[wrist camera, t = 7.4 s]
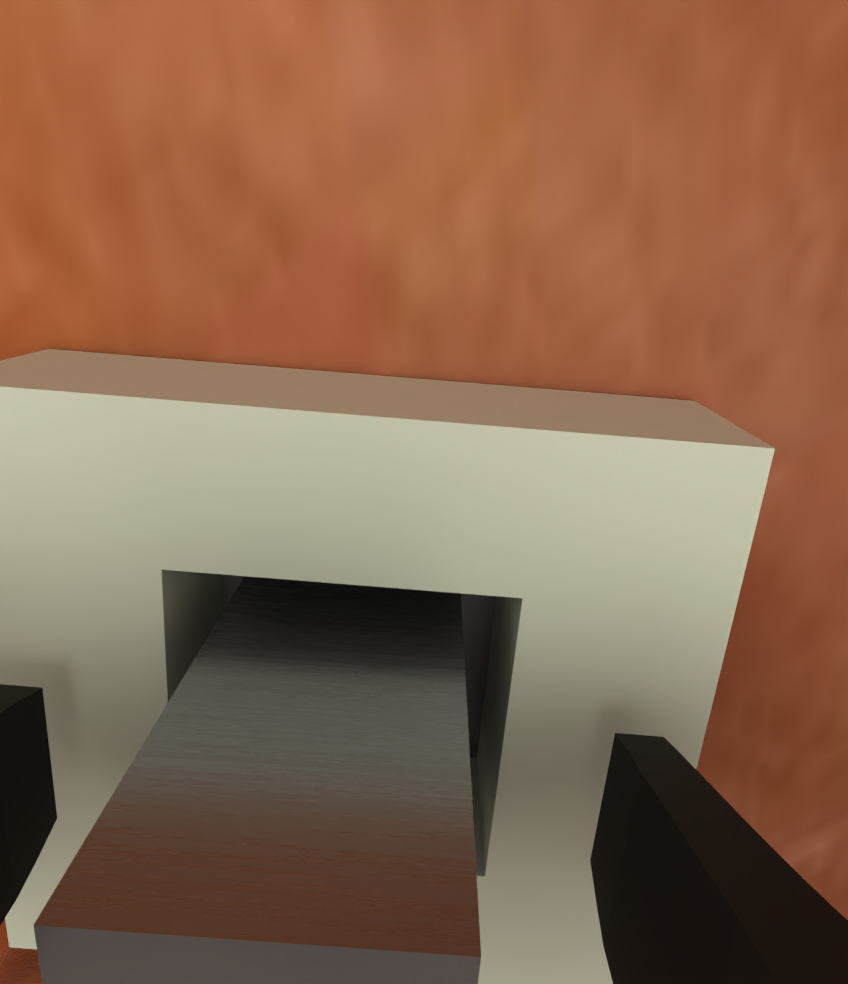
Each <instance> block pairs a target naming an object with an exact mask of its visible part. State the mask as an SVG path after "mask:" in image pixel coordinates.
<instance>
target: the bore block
mask: <svg viewBox="0 0 848 984" xmlns="http://www.w3.org/2000/svg"><path fill="white" fill-rule="evenodd" d="M774 451H775V448H773V447H772V446H770V445H768V444H767V443H765V442H763V441H761V440H760V439H758V438H756V437H755V436H753V435H751V434H750V433H748V432H746V431H745V430H743V429H741V428H740V427H738V426H736V425H735V424H733V423H731V422H729V421H728V420H726V419H724V418H723V417H721V416H719V415H718V414H716V413H714V412H713V411H711V410H709V409H708V408H706V407H704V406H702V405H701V404H699V403H697V402H696V401H692V400H680V399H667V398H655V397H642V396H630V395H617V394H605V393H592V392H580V391H568V390H555V389H543V388H530V387H518V386H505V385H493V384H480V383H468V382H456V381H443V380H431V379H418V378H406V377H393V376H381V375H368V374H356V373H343V372H331V371H319V370H306V369H294V368H281V367H269V366H256V365H244V364H231V363H219V362H207V361H194V360H182V359H169V358H157V357H144V356H132V355H119V354H107V353H95V352H82V351H70V350H57V349H46V350H42V351H38V352H34V353H30V354H26V355H22V356H18V357H14V358H10V359H6V360H2V361H0V684H3V685H16V686H29V687H41V688H43V697H44V706H45V715H46V724H47V732H48V741H49V750H50V759H51V767H52V776H53V785H54V794H55V802H56V811H57V820H56V822H55V824H54V826H53V828H52V830H51V832H50V834H49V836H48V838H47V840H46V843H45V845H44V847H43V849H42V851H41V853H40V855H39V857H38V859H37V861H36V863H35V865H34V867H33V869H32V871H31V873H30V875H29V877H28V878H27V880H26V882H25V884H24V886H23V888H22V890H21V892H20V894H19V896H18V898H17V899H16V901H15V903H14V904H13V906H12V908H11V909H10V911H9V912H8V914H7V915H6V917H5V922H6V929H7V935H8V942H9V947H11V948H24V949H36V950H37V946H36V940H35V933H34V926H33V925H34V923H35V922H36V920H37V918H38V917H39V915H40V913H41V912H42V910H43V908H44V907H45V905H46V903H47V902H48V900H49V899H50V897H51V895H52V894H53V892H54V890H55V889H56V887H57V885H58V884H59V882H60V880H61V879H62V877H63V875H64V874H65V872H66V870H67V869H68V867H69V865H70V864H71V862H72V861H73V859H74V857H75V856H76V854H77V852H78V851H79V849H80V847H81V846H82V844H83V842H84V841H85V839H86V837H87V836H88V834H89V832H90V831H91V829H92V827H93V826H94V824H95V822H96V821H97V819H98V818H99V816H100V814H101V813H102V811H103V809H104V808H105V806H106V804H107V803H108V801H109V799H110V798H111V796H112V794H113V793H114V791H115V789H116V788H117V786H118V784H119V783H120V781H121V780H122V778H123V776H124V775H125V773H126V771H127V770H128V768H129V766H130V765H131V763H132V761H133V760H134V758H135V756H136V755H137V753H138V751H139V750H140V748H141V746H142V745H143V743H144V742H145V740H146V738H147V737H148V735H149V733H150V732H151V730H152V728H153V727H154V725H155V723H156V722H157V720H158V718H159V717H160V715H161V713H162V712H163V710H164V708H165V707H166V705H167V703H168V702H169V700H170V699H171V697H172V695H173V694H174V692H175V690H176V689H177V687H178V685H179V684H180V682H181V680H182V679H183V677H184V675H185V674H186V672H187V670H188V669H189V667H190V665H191V664H192V662H193V661H194V659H195V657H196V656H197V654H198V652H199V651H200V649H201V647H202V646H203V644H204V642H205V641H206V639H207V637H208V636H209V634H210V632H211V631H212V629H213V627H214V626H215V624H216V622H217V621H218V619H219V618H220V616H221V614H222V613H223V611H224V609H225V608H226V606H227V604H228V603H229V601H230V599H231V598H232V596H233V594H234V593H235V591H236V589H237V588H238V586H239V584H240V583H241V581H242V580H243V578H244V576H248V577H261V578H273V579H286V580H299V581H311V582H324V583H336V584H349V585H361V586H374V587H387V588H399V589H412V590H424V591H437V592H449V593H461V607H462V625H463V643H464V660H465V678H466V696H467V714H468V732H469V749H470V767H471V785H472V803H473V821H474V839H475V856H476V874H477V892H478V910H479V928H480V945H481V962H480V970H479V978H478V984H613V981H612V978H611V974H610V970H609V966H608V962H607V958H606V954H605V950H604V947H603V941H602V935H601V928H600V922H599V916H598V910H597V904H596V897H595V890H594V883H593V876H592V869H591V862H590V858H591V853H592V848H593V843H594V838H595V833H596V828H597V823H598V818H599V812H600V807H601V802H602V797H603V792H604V787H605V782H606V777H607V772H608V766H609V761H610V756H611V751H612V746H613V741H614V736H615V733H623V734H635V735H648V736H660V737H664V738H665V739H666V740H667V741H668V742H670V743H671V744H672V745H673V746H674V747H675V748H676V749H677V750H678V751H679V752H680V753H681V755H682V756H683V757H684V758H685V759H686V760H687V761H688V762H689V763H690V764H691V765H692V766H693V767H694V768H695V769H697V765H698V761H699V757H700V753H701V749H702V745H703V740H704V736H705V732H706V728H707V724H708V720H709V716H710V712H711V708H712V704H713V700H714V696H715V692H716V687H717V683H718V679H719V675H720V671H721V667H722V663H723V659H724V655H725V651H726V647H727V643H728V638H729V634H730V630H731V626H732V622H733V618H734V614H735V610H736V606H737V602H738V598H739V594H740V589H741V585H742V581H743V577H744V573H745V569H746V565H747V561H748V557H749V553H750V549H751V545H752V541H753V536H754V532H755V528H756V524H757V520H758V516H759V512H760V508H761V504H762V500H763V496H764V492H765V487H766V483H767V479H768V475H769V471H770V467H771V463H772V459H773V455H774Z"/></svg>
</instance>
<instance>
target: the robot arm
mask: <svg viewBox="0 0 848 984" xmlns="http://www.w3.org/2000/svg"><path fill="white" fill-rule="evenodd" d="M56 820H57V811H56V802H55V794H54V785H53V776H52V767H51V759H50V750H49V741H48V732H47V724H46V715H45V706H44V697H43V688H41V687H29V686H16V685H3V684H0V925H1V923H2V922H3V920H4V919H5V917H6V915H7V914H8V912H9V911H10V909H11V908H12V906H13V904H14V903H15V901H16V899H17V898H18V896H19V894H20V892H21V890H22V888H23V886H24V884H25V882H26V880H27V878H28V877H29V875H30V873H31V871H32V869H33V867H34V865H35V863H36V861H37V859H38V857H39V855H40V853H41V851H42V849H43V847H44V845H45V843H46V840H47V838H48V836H49V834H50V832H51V830H52V828H53V826H54V824H55V822H56ZM590 862H591V869H592V876H593V883H594V890H595V897H596V904H597V910H598V916H599V922H600V928H601V935H602V941H603V947H604V950H605V954H606V958H607V962H608V966H609V970H610V974H611V978H612V981H613V984H848V920H847V919H845V918H844V917H843V916H842V915H841V914H840V913H839V912H838V911H837V910H836V909H834V908H833V907H832V906H831V905H830V904H829V903H828V902H827V901H826V900H825V899H824V898H823V897H822V896H821V895H820V894H819V893H818V892H817V891H816V890H815V889H813V888H812V887H811V886H810V885H809V884H808V883H807V882H806V881H805V880H804V879H803V878H802V877H801V876H800V875H799V874H798V873H797V872H796V871H795V870H794V869H793V868H792V867H791V866H790V865H789V864H788V863H787V862H786V861H785V860H784V859H783V858H782V857H781V856H780V855H779V854H778V853H777V852H776V851H775V850H774V849H773V848H772V847H771V846H770V845H769V844H768V843H767V842H766V841H765V840H764V839H763V838H762V837H761V836H760V835H759V834H758V833H757V832H756V831H755V830H754V829H753V828H752V827H751V826H750V825H749V824H748V823H747V822H746V821H745V820H744V819H743V818H742V817H741V816H740V815H739V814H738V813H737V812H736V811H735V810H734V809H733V808H732V807H731V806H730V804H729V803H728V802H727V801H726V800H725V799H724V798H723V797H722V796H721V795H720V794H719V793H718V792H717V791H716V790H715V789H714V788H713V787H712V786H711V785H710V784H709V783H708V782H707V781H706V779H705V778H704V777H703V776H702V775H701V774H700V773H699V772H698V771H697V770H696V769H695V768H694V767H693V766H692V765H691V764H690V763H689V762H688V761H687V760H686V759H685V758H684V757H683V756H682V755H681V753H680V752H679V751H678V750H677V749H676V748H675V747H674V746H673V745H672V744H671V743H670V742H668V741H667V740H666V739H665V738H664V737H660V736H648V735H635V734H623V733H615V736H614V741H613V746H612V751H611V756H610V761H609V766H608V772H607V777H606V782H605V787H604V792H603V797H602V802H601V807H600V812H599V818H598V823H597V828H596V833H595V838H594V843H593V848H592V853H591V858H590Z"/></svg>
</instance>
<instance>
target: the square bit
mask: <svg viewBox="0 0 848 984" xmlns="http://www.w3.org/2000/svg"><path fill="white" fill-rule="evenodd" d="M33 926H34V933H35V940H36V946H37V953H38V960H39V967H40V973H41V980H42V984H478V978H479V970H480V962H481V945H480V928H479V910H478V892H477V874H476V856H475V839H474V821H473V803H472V785H471V767H470V749H469V732H468V714H467V696H466V678H465V660H464V643H463V625H462V607H461V593H449V592H437V591H424V590H412V589H399V588H387V587H374V586H361V585H349V584H336V583H324V582H311V581H299V580H286V579H273V578H261V577H248V576H244V578H243V580H242V581H241V583H240V584H239V586H238V588H237V589H236V591H235V593H234V594H233V596H232V598H231V599H230V601H229V603H228V604H227V606H226V608H225V609H224V611H223V613H222V614H221V616H220V618H219V619H218V621H217V622H216V624H215V626H214V627H213V629H212V631H211V632H210V634H209V636H208V637H207V639H206V641H205V642H204V644H203V646H202V647H201V649H200V651H199V652H198V654H197V656H196V657H195V659H194V661H193V662H192V664H191V665H190V667H189V669H188V670H187V672H186V674H185V675H184V677H183V679H182V680H181V682H180V684H179V685H178V687H177V689H176V690H175V692H174V694H173V695H172V697H171V699H170V700H169V702H168V703H167V705H166V707H165V708H164V710H163V712H162V713H161V715H160V717H159V718H158V720H157V722H156V723H155V725H154V727H153V728H152V730H151V732H150V733H149V735H148V737H147V738H146V740H145V742H144V743H143V745H142V746H141V748H140V750H139V751H138V753H137V755H136V756H135V758H134V760H133V761H132V763H131V765H130V766H129V768H128V770H127V771H126V773H125V775H124V776H123V778H122V780H121V781H120V783H119V784H118V786H117V788H116V789H115V791H114V793H113V794H112V796H111V798H110V799H109V801H108V803H107V804H106V806H105V808H104V809H103V811H102V813H101V814H100V816H99V818H98V819H97V821H96V822H95V824H94V826H93V827H92V829H91V831H90V832H89V834H88V836H87V837H86V839H85V841H84V842H83V844H82V846H81V847H80V849H79V851H78V852H77V854H76V856H75V857H74V859H73V861H72V862H71V864H70V865H69V867H68V869H67V870H66V872H65V874H64V875H63V877H62V879H61V880H60V882H59V884H58V885H57V887H56V889H55V890H54V892H53V894H52V895H51V897H50V899H49V900H48V902H47V903H46V905H45V907H44V908H43V910H42V912H41V913H40V915H39V917H38V918H37V920H36V922H35V923H34V925H33Z"/></svg>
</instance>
